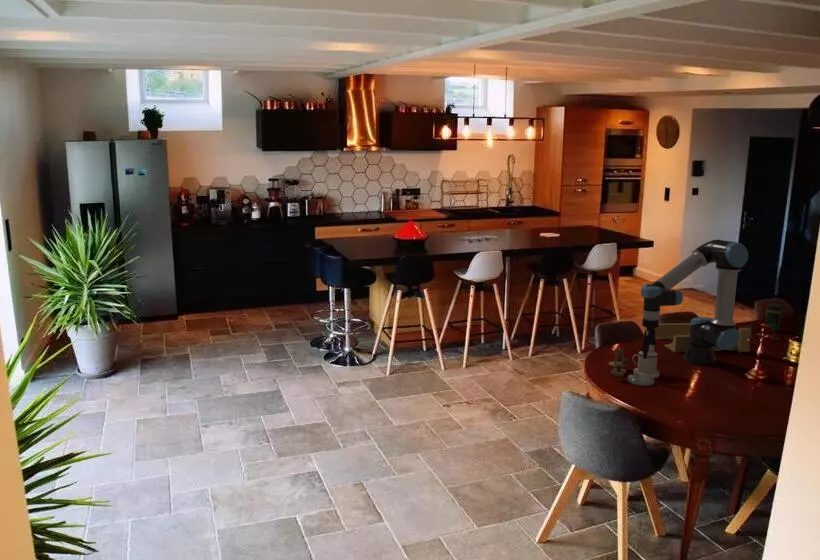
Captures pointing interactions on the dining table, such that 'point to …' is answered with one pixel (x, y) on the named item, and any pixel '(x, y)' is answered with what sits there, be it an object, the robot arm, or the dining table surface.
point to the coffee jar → (773, 316)
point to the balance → (619, 364)
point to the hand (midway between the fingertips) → (647, 361)
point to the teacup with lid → (651, 362)
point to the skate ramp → (682, 335)
